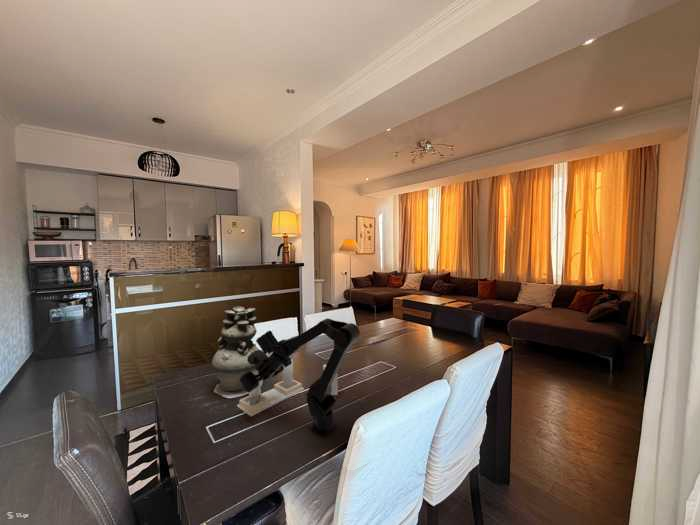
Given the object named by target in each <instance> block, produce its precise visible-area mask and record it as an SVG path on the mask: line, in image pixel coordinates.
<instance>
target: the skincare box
mask: <svg viewBox="0 0 700 525" xmlns="http://www.w3.org/2000/svg"><path fill="white" fill-rule="evenodd" d="M326 365H327V364H323V366H322V369H323V370H322V372H323V371H324V369H325V367H326ZM338 376H339V375H338V372H337V374H336V376H335V378H334V380H333V382H332V385H331V386H332V391H331V395H332V396H338V395H339V394H338V393H339V392H338V391H339V388H338V387H339V385H338V384H339V383H338V379H339V378H338Z"/></svg>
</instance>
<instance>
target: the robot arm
mask: <svg viewBox="0 0 700 525" xmlns="http://www.w3.org/2000/svg"><path fill="white" fill-rule="evenodd" d="M322 335H326V337H328V339H330V340H332V341H333V350H332V352H331V354H330V356H329V357H328V358H329V359H328V361H327V363H326V364H325V365H326V367H325V369H324V371H323V370H322V374H321V376H320V378H317V380H315V381H314V382H312V384H310V385H309V388H308V391H307V393H306V394H305V396H306V398H305V400H306V403H307V406H308V410H309V412H310V415H311V417H313V424H312V425H311V426H310V430H312V431H313V432H315V433H317V434H318V435H320V436H322V437H325V436H327V435H328V434H329V433H330V432H332V431H333V430H334V429H336V428H337V425H336V424H334V412H333V411H332V410H333V409H334V408H335V407H336V404H337V399H336V398H335V397H334V395H331V391H332V386H331V385H332V382H333V380H334V378H335V376H336V374H337V373H338V371H339V369H340V367H341V365H342V362H343V361H344V359H345V357H346V354H347V353H348V351H349V350H350V349H351V347H352V346H353V345H354V344H355V343H356V341H357V340H358V339H359V337H360V335H361V331H360V328H359V327H358V325H357V324H355V323H352V322H350V323H349V322H345V321H339V320H334V319H332V318H325V319H323V320H321V321H319V322H318V323H317V324H315V325H313V326H312V327H310V328H308V329H307V330H306V331H304V332H303V333H301V334H298V335H296V336H295V335H294V336H291V337H290V338H287V339H281V340H279V341H278V339H277V338H276V336H275V335H274V333H273V331H272V330H268V331H266V332H265V333H264V334H261V336H259V337H257V338H256V340H255V341H256V343H257V345H258V346H259V347H260V348H259V350H256V351H254V352H252V353H251V354H250V355H249V356H248V359H247V361H248V362H249V363H250V364H251V365H253V364H254V365H256V367H255V369H256V370H258V375H256V376H254V374H253V373H252V372H250V371H249V372H247V373H245V374H244V375H242V376H241V377H240V381H241V383H242V384H243V388H242V390H243V392H245V391H247V392H251V391H252V390H254V389H255V388H257V387H258V386H259V381H263V382H264V381H267V380H269V379H271V378H274V377H276V376H278V375H279V374H281V373H283V370H284V367H287V366H289V365H290V364H292V362H291V359H292V357H291V356H293V355H295V354H296V353H298V352H299V351H300V350H301V349H302V348H304V346H305V345H306V344H307V343H309V342H311V341H313V340H315V339H316V338H318V337H320V336H322ZM267 354H268V355H269V356H268V355H267ZM283 365H284V366H283ZM259 377H260V378H259Z"/></svg>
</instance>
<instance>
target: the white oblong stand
mask: <svg viewBox="0 0 700 525" xmlns="http://www.w3.org/2000/svg"><path fill="white" fill-rule="evenodd" d="M291 362H292V364H290V365H289V366H287V367H284V370H283V371H282V380H281V381H279V382H277V383H274V385H273V388H272V389H269V390H267V391H265V392H263V393H262V392H261V402H259V403H257V404H255V405H253V406H251V405H249V395H248V396H245V397H243V398H240V399H239V404H237V405H236V406H237V408H238V409H240V410H241V411H242V412H244V413H245V414H247V415H248V416H249V417H253V416H255V415H256V414H259V413H261V412H263V411H264V410H266V409H269V408H270V407H273V406H275V405H277V404H278V403H280V402H283V401H285V400H286V399H288V398H290V397H292V396H294V395H296V394H298V393H300V392H303V391H304V390H305V388H304V387H303V386H302V385H303V383H301V382H299V381H297V380H295V379H294V360H293V359H292V358H291ZM283 366H284V365H283Z"/></svg>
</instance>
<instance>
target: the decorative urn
mask: <svg viewBox="0 0 700 525" xmlns="http://www.w3.org/2000/svg"><path fill="white" fill-rule="evenodd" d="M254 312H256V308H254V307H249V308H248V309H245V307H243V306H234V307H232V310H231V309H230V310H224V314H225V315H227V316H226V318H225V319H224V320H223V321H222V322H223V324H224V326H223V328H222V329H221V332H220V333H221V336H220V337H219V338H218V339H217V344H219V346H218V350H217V351H216V352H215V354H214V356H213V358H212V359H211V360H212V361H211V368H212V371H213V373H214V375H215V376H216V377H217V379H218V380H219V382H220V383H217V384H216V385H215V387H214V390H213V393H216V394H217V395H219V396H221V397H223V398H226V399H233V398H234V399H235V398H239V397H243V396H245V395H249V392H247V391H245V392H243V390H242V388H243V384H242V383H241V381H240V377H241V376H242V375H244V374H245V373H247V372H249V371H250V372H252V371H258V370H256V369H255V367H256V365H254V364H253V365H251V364H250V363H249V362H248V361H247V359H248V356H249V355H250V354H251V353H252V352H254V351H256V350H260V348H259V347H257V345H256V343H253V338H254V337H255V336H256V334H257V332H258V330H257V328H256V326H255V322H256V320H257V316H254ZM263 383H264V380H263V381H260V384H261V387H262V386H263Z"/></svg>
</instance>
